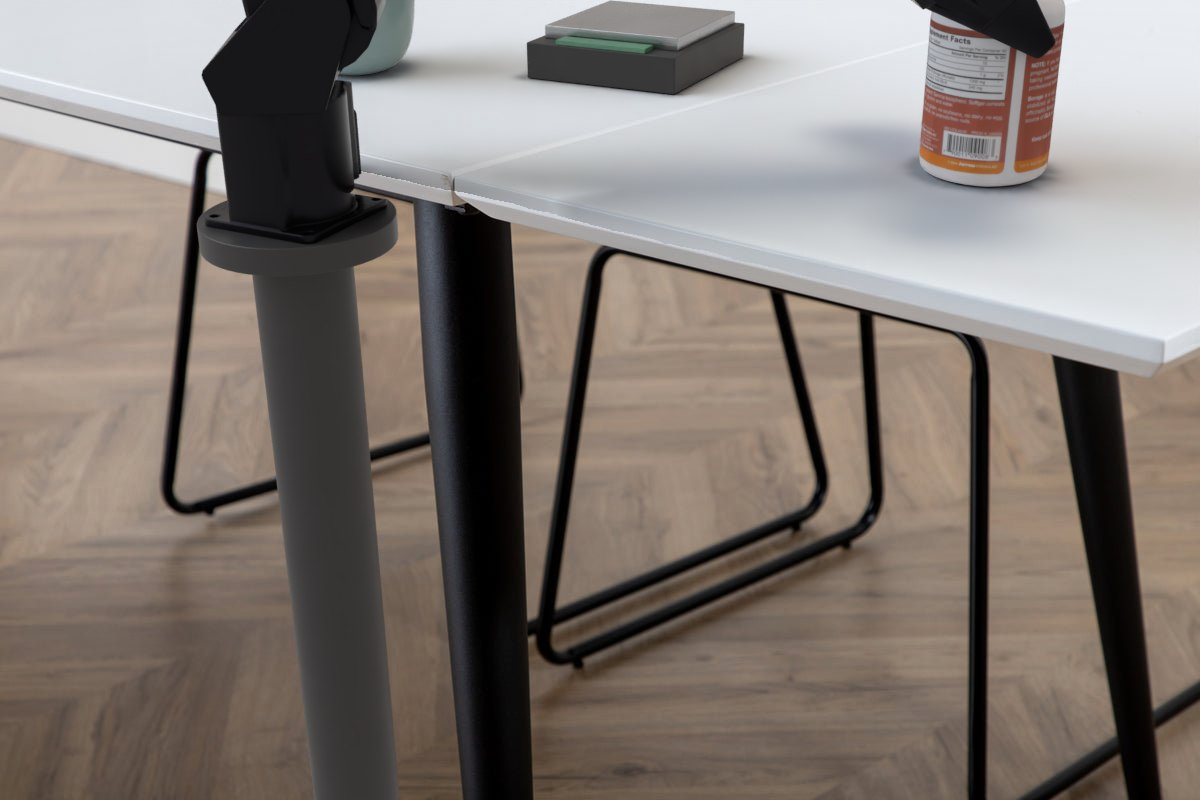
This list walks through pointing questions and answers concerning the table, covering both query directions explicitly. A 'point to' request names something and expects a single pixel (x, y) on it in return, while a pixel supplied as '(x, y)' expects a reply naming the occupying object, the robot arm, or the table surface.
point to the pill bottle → (988, 104)
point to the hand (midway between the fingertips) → (1024, 36)
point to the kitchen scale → (637, 46)
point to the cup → (387, 39)
